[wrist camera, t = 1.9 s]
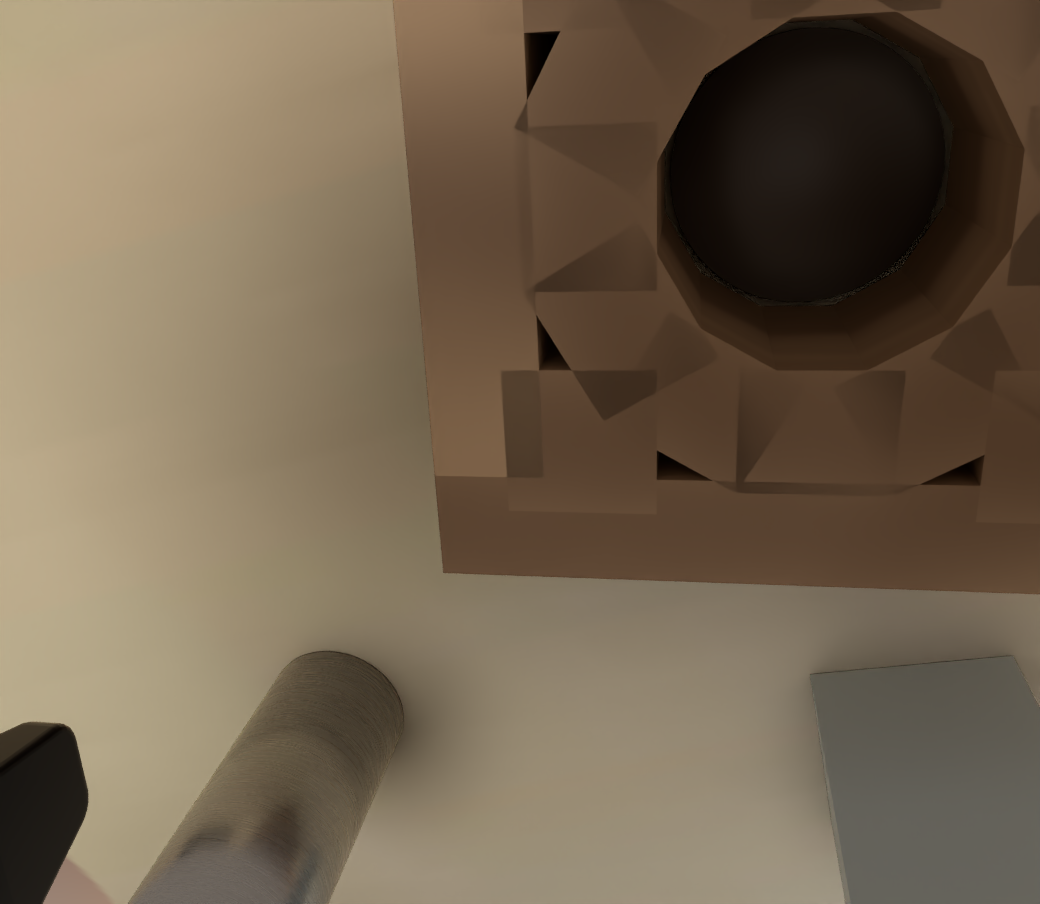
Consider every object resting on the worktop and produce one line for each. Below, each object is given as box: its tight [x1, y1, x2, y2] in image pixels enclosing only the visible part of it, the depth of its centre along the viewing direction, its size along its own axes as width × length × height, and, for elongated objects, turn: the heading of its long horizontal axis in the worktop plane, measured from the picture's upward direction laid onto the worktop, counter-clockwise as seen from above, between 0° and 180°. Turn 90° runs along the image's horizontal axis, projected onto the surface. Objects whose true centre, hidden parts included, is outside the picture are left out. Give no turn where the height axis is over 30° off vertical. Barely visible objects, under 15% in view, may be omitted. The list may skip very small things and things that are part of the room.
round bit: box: [128, 652, 404, 904], centre depth 19 cm, size 3×3×9 cm
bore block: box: [393, 0, 1040, 594], centre depth 16 cm, size 12×12×4 cm
